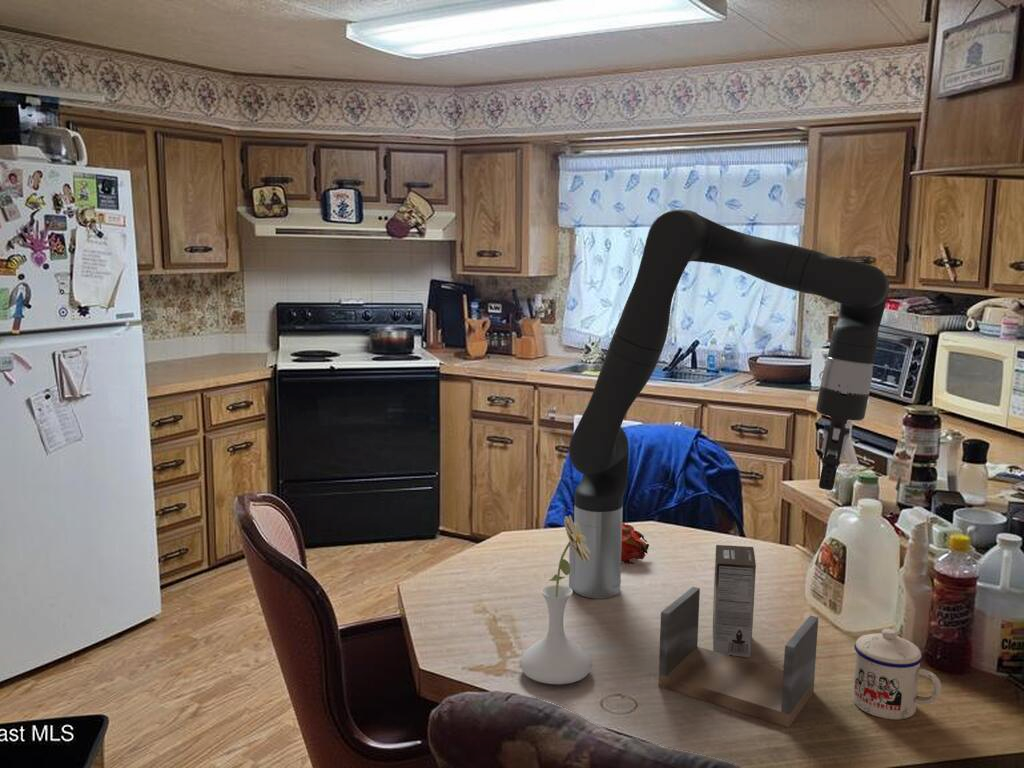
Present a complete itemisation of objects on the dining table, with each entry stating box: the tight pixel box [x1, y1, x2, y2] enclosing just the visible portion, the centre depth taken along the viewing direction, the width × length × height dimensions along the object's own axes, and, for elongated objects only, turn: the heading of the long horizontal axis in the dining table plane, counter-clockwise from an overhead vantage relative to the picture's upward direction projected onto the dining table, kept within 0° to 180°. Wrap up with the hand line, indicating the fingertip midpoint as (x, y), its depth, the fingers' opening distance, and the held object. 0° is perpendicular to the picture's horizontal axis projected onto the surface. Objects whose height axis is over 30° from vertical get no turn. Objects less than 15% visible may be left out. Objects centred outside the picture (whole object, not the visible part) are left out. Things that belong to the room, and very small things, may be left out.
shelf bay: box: [658, 586, 819, 728], centre depth 131 cm, size 20×12×12 cm, turn 55°
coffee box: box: [712, 544, 757, 658], centre depth 146 cm, size 9×6×16 cm
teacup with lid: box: [852, 628, 942, 720], centre depth 126 cm, size 12×9×12 cm
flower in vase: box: [519, 514, 593, 685], centre depth 135 cm, size 13×11×25 cm
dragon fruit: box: [621, 522, 650, 565], centre depth 185 cm, size 8×8×12 cm
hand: (826, 483), depth 143 cm, fingers open, 8 cm apart
